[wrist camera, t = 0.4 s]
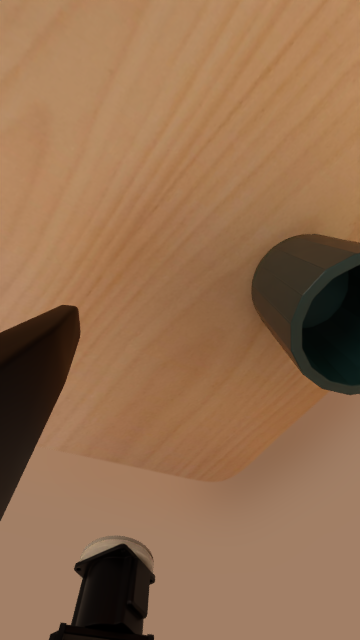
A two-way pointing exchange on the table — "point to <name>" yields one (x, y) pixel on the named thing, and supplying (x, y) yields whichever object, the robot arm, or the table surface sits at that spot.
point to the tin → (314, 307)
